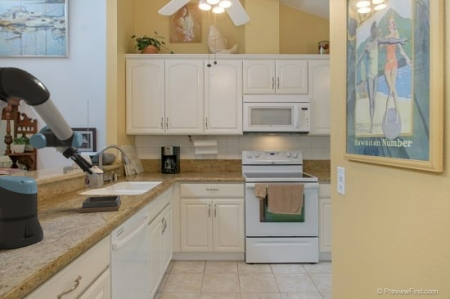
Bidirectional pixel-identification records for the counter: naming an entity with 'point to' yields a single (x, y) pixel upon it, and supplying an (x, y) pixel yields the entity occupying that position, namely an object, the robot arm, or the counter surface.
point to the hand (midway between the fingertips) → (98, 177)
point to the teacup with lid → (90, 181)
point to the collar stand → (101, 204)
